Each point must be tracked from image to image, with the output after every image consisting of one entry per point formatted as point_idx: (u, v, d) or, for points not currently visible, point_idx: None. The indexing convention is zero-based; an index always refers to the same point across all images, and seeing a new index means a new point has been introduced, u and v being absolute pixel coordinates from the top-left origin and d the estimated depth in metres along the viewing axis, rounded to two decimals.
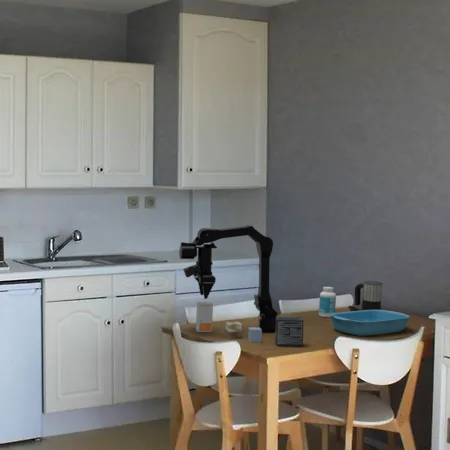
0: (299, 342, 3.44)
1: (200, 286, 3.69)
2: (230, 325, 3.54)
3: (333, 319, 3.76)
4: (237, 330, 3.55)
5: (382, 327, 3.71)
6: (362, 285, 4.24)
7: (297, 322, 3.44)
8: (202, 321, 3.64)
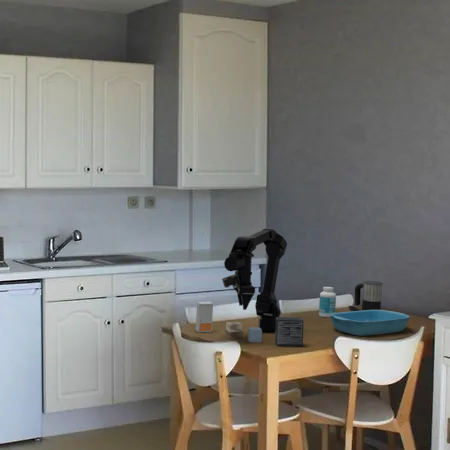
0: (299, 342, 3.44)
1: (239, 296, 3.58)
2: (231, 325, 3.54)
3: (333, 319, 3.76)
4: (238, 330, 3.55)
5: (382, 327, 3.71)
6: (362, 285, 4.24)
7: (297, 322, 3.44)
8: (202, 321, 3.64)
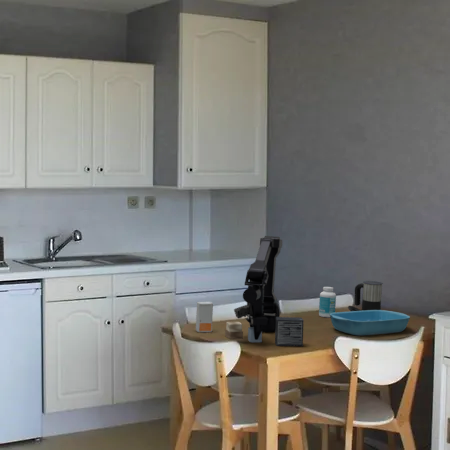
0: (299, 342, 3.44)
1: None
2: (230, 325, 3.54)
3: (332, 318, 3.77)
4: (237, 330, 3.55)
5: (380, 327, 3.70)
6: (362, 285, 4.23)
7: (297, 322, 3.44)
8: (202, 321, 3.64)
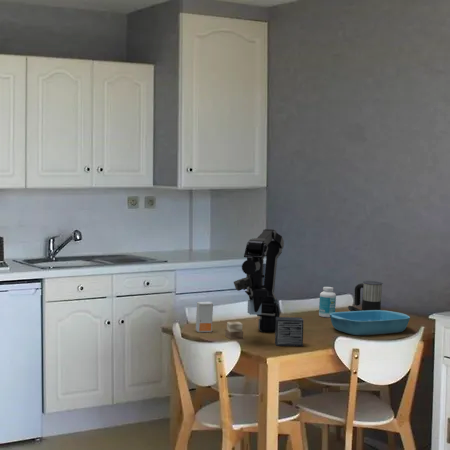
0: (299, 342, 3.44)
1: None
2: (231, 325, 3.54)
3: (331, 318, 3.78)
4: (238, 330, 3.55)
5: (379, 327, 3.70)
6: (362, 285, 4.23)
7: (297, 322, 3.44)
8: (202, 321, 3.64)
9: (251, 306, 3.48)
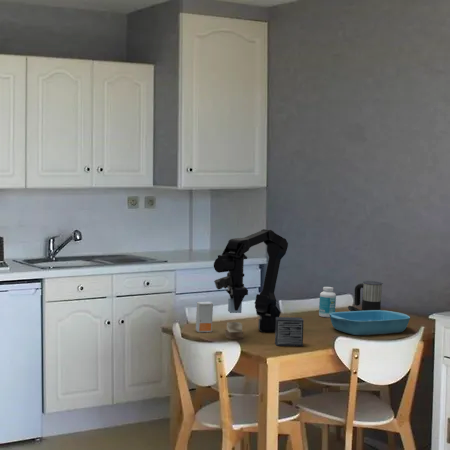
0: (299, 342, 3.44)
1: None
2: (230, 325, 3.54)
3: (331, 318, 3.78)
4: (237, 330, 3.54)
5: (379, 327, 3.70)
6: (362, 285, 4.23)
7: (297, 322, 3.44)
8: (202, 321, 3.64)
9: (231, 304, 3.54)
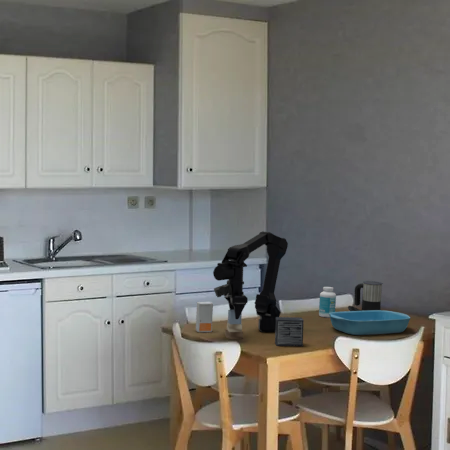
0: (299, 342, 3.44)
1: (230, 306, 3.61)
2: (230, 325, 3.54)
3: (330, 317, 3.79)
4: (237, 330, 3.54)
5: (378, 327, 3.70)
6: (362, 285, 4.23)
7: (297, 322, 3.44)
8: (202, 321, 3.64)
9: (231, 316, 3.54)
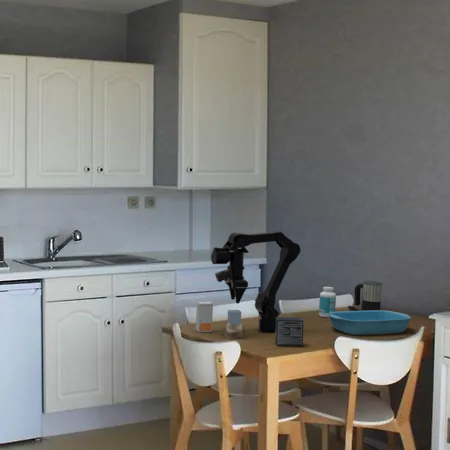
0: (299, 342, 3.44)
1: (231, 291, 3.69)
2: (230, 325, 3.54)
3: (330, 317, 3.80)
4: (237, 330, 3.54)
5: (377, 327, 3.70)
6: (362, 285, 4.23)
7: (297, 322, 3.44)
8: (202, 321, 3.64)
9: (231, 316, 3.54)
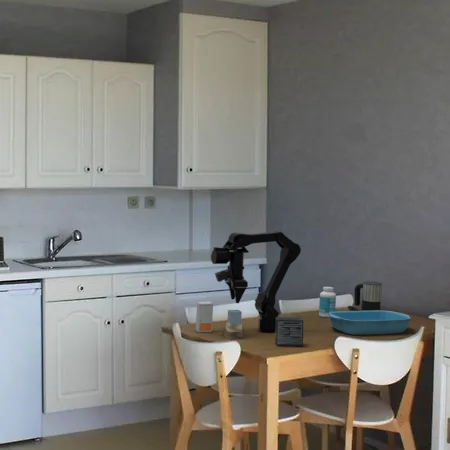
0: (299, 342, 3.44)
1: (231, 290, 3.70)
2: (230, 325, 3.54)
3: (330, 317, 3.81)
4: (237, 330, 3.54)
5: (376, 327, 3.70)
6: (362, 285, 4.23)
7: (297, 322, 3.44)
8: (202, 321, 3.64)
9: (231, 316, 3.54)
